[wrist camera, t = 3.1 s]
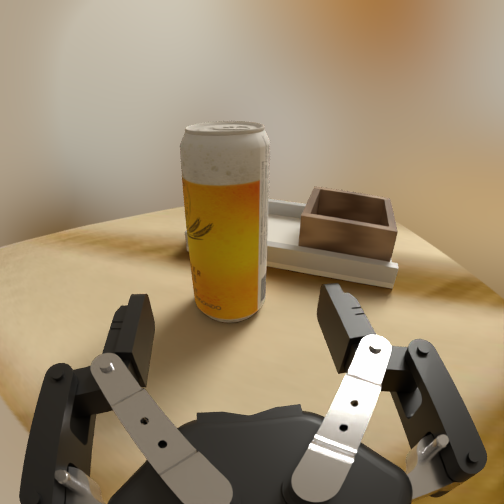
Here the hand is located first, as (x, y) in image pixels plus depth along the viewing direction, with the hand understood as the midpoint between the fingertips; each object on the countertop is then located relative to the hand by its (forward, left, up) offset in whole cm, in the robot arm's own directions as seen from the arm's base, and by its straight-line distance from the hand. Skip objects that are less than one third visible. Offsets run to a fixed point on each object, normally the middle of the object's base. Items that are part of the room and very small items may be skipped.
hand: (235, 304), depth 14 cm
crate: (+5, +22, -8) cm, 24 cm away
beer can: (-4, +9, -9) cm, 13 cm away
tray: (-1, +22, -9) cm, 24 cm away
